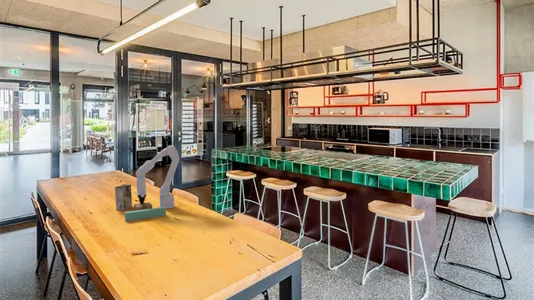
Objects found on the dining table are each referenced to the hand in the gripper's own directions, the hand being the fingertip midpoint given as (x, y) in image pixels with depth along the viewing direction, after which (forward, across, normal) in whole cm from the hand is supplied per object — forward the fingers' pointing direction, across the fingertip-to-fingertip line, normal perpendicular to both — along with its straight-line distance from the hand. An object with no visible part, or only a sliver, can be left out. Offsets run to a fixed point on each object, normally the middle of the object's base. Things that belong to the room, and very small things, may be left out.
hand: (142, 204), depth 215 cm
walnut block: (+3, +7, 0) cm, 7 cm away
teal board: (+3, +21, 0) cm, 21 cm away
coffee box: (+3, -7, -11) cm, 14 cm away
